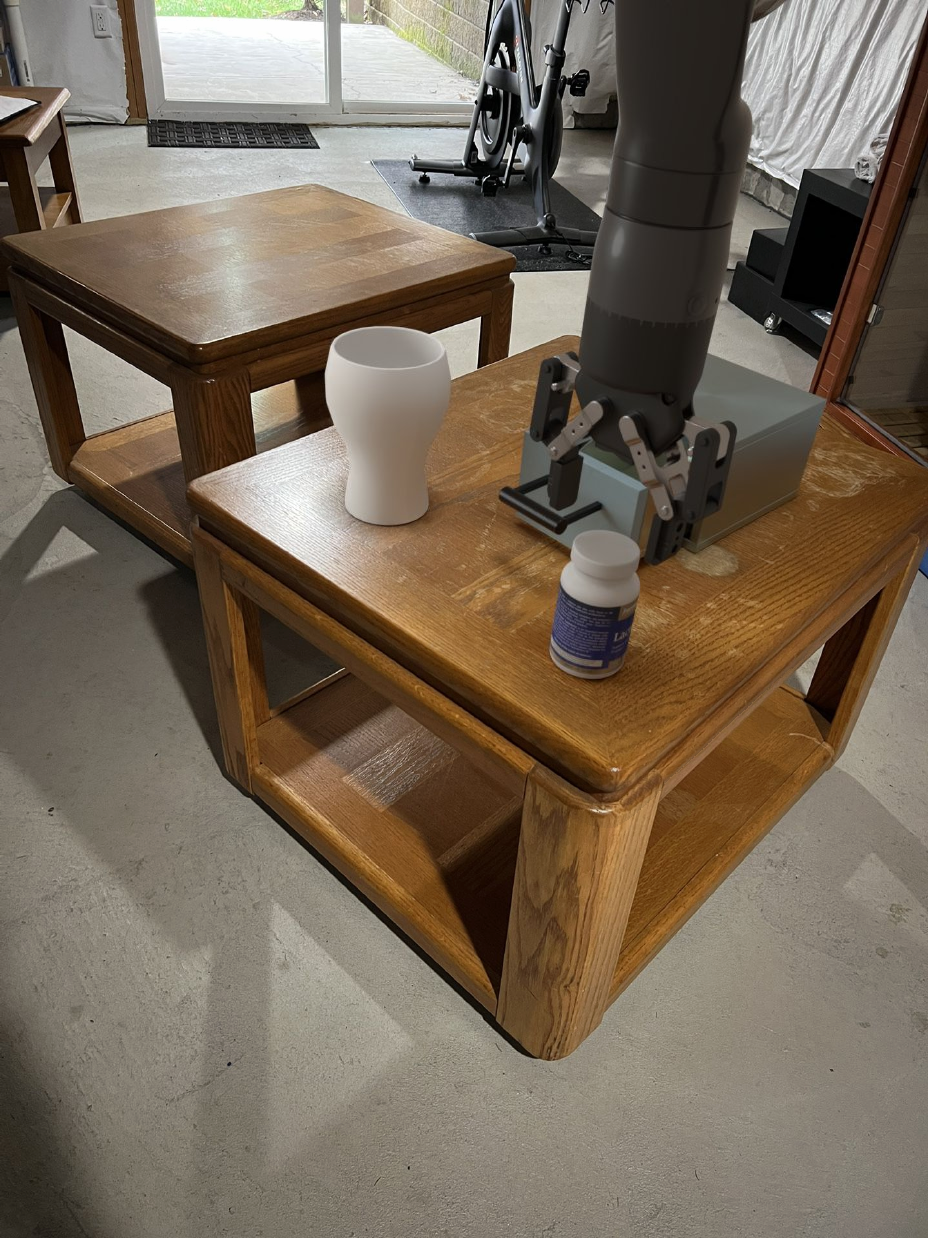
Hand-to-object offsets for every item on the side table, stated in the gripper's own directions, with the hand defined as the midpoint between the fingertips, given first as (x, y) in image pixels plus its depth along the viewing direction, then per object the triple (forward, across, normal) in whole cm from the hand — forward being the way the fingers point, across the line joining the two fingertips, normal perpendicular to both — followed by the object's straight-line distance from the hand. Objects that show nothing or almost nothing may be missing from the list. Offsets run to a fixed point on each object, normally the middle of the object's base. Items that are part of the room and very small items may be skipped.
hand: (607, 532), depth 64 cm
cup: (+11, +26, -2) cm, 29 cm away
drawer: (+10, +10, -14) cm, 20 cm away
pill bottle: (+11, 0, 0) cm, 11 cm away
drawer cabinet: (+11, +10, -27) cm, 31 cm away
